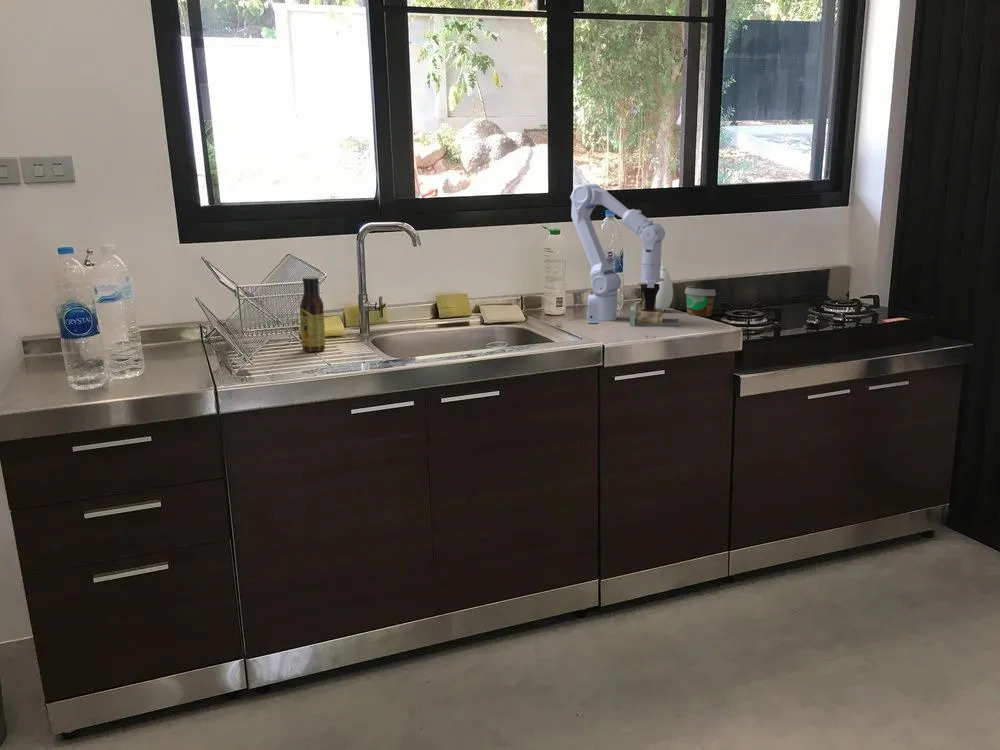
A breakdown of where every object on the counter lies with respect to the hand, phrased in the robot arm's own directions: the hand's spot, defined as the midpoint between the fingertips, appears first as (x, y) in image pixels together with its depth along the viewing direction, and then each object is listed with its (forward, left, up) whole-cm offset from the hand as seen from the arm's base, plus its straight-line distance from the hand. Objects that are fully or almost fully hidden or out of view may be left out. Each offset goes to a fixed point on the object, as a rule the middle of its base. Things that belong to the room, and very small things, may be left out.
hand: (649, 308), depth 258 cm
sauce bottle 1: (-90, -51, -6) cm, 103 cm away
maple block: (0, 0, -5) cm, 5 cm away
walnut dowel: (0, 0, -2) cm, 2 cm away
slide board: (+2, 0, -6) cm, 6 cm away
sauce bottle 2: (+4, +29, -6) cm, 30 cm away
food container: (+15, +19, -6) cm, 25 cm away
